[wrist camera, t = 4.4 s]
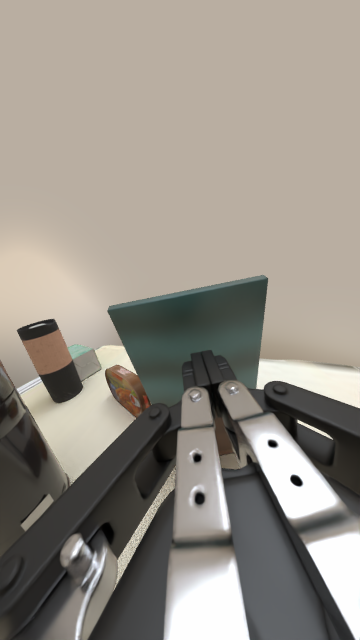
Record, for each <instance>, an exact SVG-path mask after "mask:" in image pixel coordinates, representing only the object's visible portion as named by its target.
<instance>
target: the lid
mask: <svg viewBox="0 0 360 640" xmlns="http://www.w3.org/2000/svg"><path fill="white" fill-rule="evenodd" d="M267 284H268V278H267V277H266V276H264V275H261V276H256V277H251V278H246V279H241V280H236V281H232V282H226V283H221V284H216V285H211V286H207V287H201V288H196V289H191V290H187V291H182V292H177V293H172V294H167V295H162V296H157V297H152V298H147V299H142V300H137V301H132V302H127V303H122V304H117V305H113V306H109V308H108V313H109V315H110V317H111V320H112V322H113V324H114V326H115V328H116V330H117V332H118V334H119V336H120V339H121V340H122V343H123V345H124V347H125V349H126V351H127V353H128V356H129V358H130V360H131V362H132V364H133V366H134V368H135V370H136V373H137V375H138V377H139V379H140V381H141V383H142V385H143V387H144V389H145V392H146V394H147V396H148V398H149V400H150V402H151V404H152V405H153V404H156V403H163V404H166V405H167V406H168V408H169V407H171V406H173V405H175V404H177V403H178V402H179V401H180V400H181V399H182V395H183V393H184V387H183V376H182V365H183V363H184V362H188V361H192V360H191V355H190V354H191V353H197V352H201V351H206V350H212V352H213V354H214V356H218V355H221V356H223V357H224V358H226V360H227V362H228V364H229V365H230V367H231V369H232V371H233V372H234V374H235V376H236V378H237V380H238V381H240V382H242V383H243V384H244V385H245V386H246V387H247V388H250V389H256V385H257V375H258V366H259V356H260V348H261V339H262V330H263V320H264V312H265V303H266V294H267ZM201 356H202V355H201Z"/></svg>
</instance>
